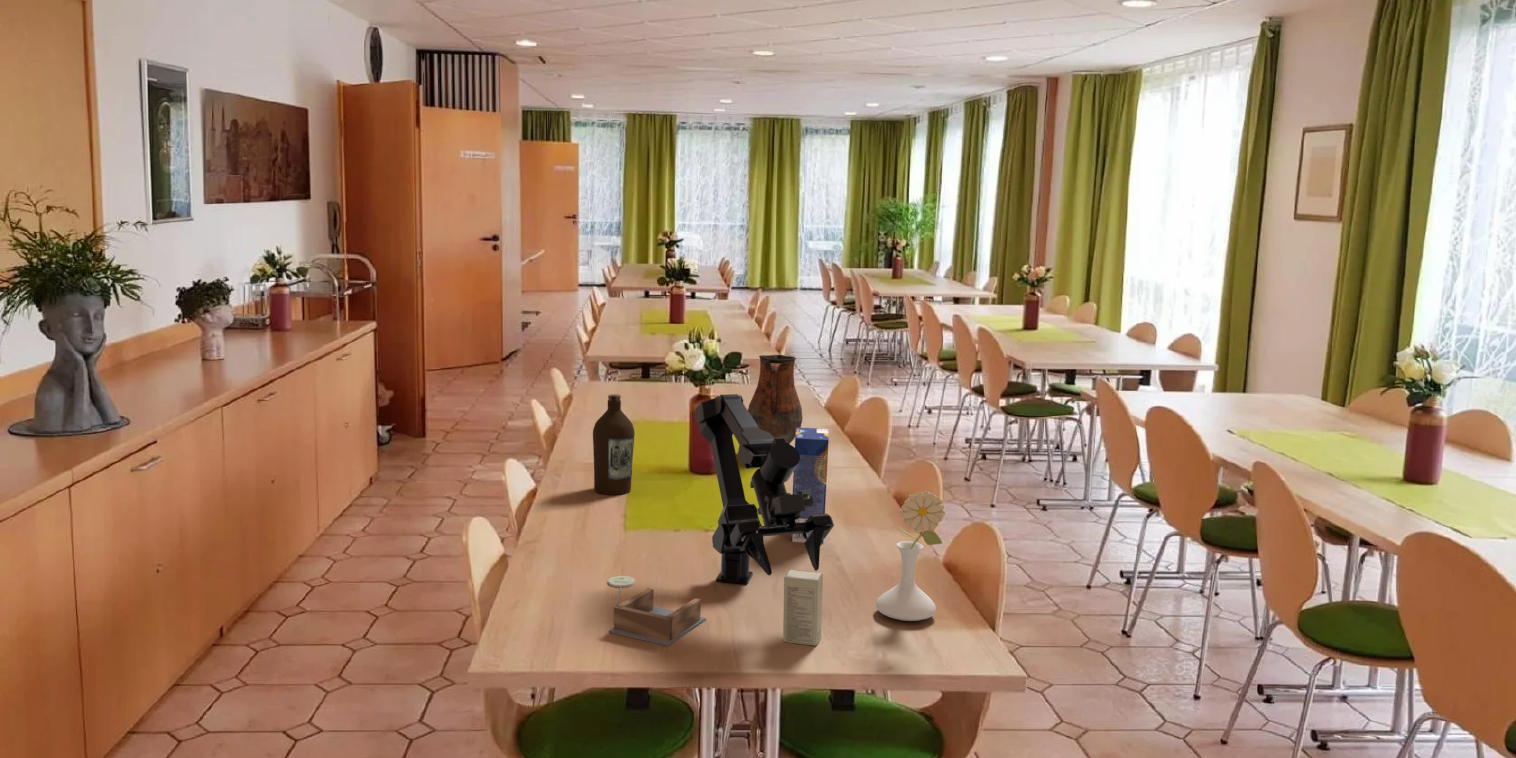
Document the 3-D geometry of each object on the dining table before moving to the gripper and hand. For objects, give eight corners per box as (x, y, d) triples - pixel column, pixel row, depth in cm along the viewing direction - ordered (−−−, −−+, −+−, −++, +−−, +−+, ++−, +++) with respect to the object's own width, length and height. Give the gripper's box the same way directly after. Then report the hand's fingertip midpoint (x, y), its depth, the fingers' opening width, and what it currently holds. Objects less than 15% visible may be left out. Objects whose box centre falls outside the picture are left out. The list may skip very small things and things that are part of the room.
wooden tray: (647, 608, 214) (648, 587, 213) (700, 620, 209) (700, 599, 209) (613, 628, 204) (614, 607, 203) (668, 641, 199) (668, 619, 198)
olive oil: (584, 488, 297) (586, 393, 293) (620, 483, 303) (622, 390, 299) (604, 498, 288) (606, 400, 284) (640, 492, 294) (643, 397, 290)
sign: (602, 603, 216) (609, 575, 231) (602, 608, 216) (609, 579, 231) (630, 604, 216) (635, 576, 231) (630, 608, 216) (635, 580, 231)
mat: (649, 607, 215) (649, 605, 215) (705, 620, 210) (706, 618, 210) (609, 632, 203) (609, 629, 203) (667, 646, 198) (667, 643, 198)
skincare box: (821, 638, 204) (825, 572, 202) (816, 647, 200) (819, 580, 198) (786, 632, 206) (789, 567, 204) (780, 641, 202) (783, 575, 200)
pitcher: (801, 450, 349) (806, 353, 344) (798, 467, 328) (803, 364, 323) (747, 447, 350) (751, 350, 345) (741, 463, 329) (745, 360, 324)
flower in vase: (862, 613, 217) (870, 485, 213) (900, 600, 225) (908, 476, 221) (917, 634, 208) (926, 501, 204) (955, 619, 216) (964, 491, 212)
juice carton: (823, 543, 259) (828, 439, 255) (790, 541, 259) (795, 438, 255) (823, 528, 270) (828, 428, 266) (791, 526, 271) (796, 427, 267)
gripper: (737, 477, 204) (759, 555, 196) (832, 471, 211) (856, 546, 203) (721, 508, 213) (740, 584, 204) (812, 501, 220) (834, 575, 211)
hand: (793, 572), depth 205 cm, fingers open, 9 cm apart
